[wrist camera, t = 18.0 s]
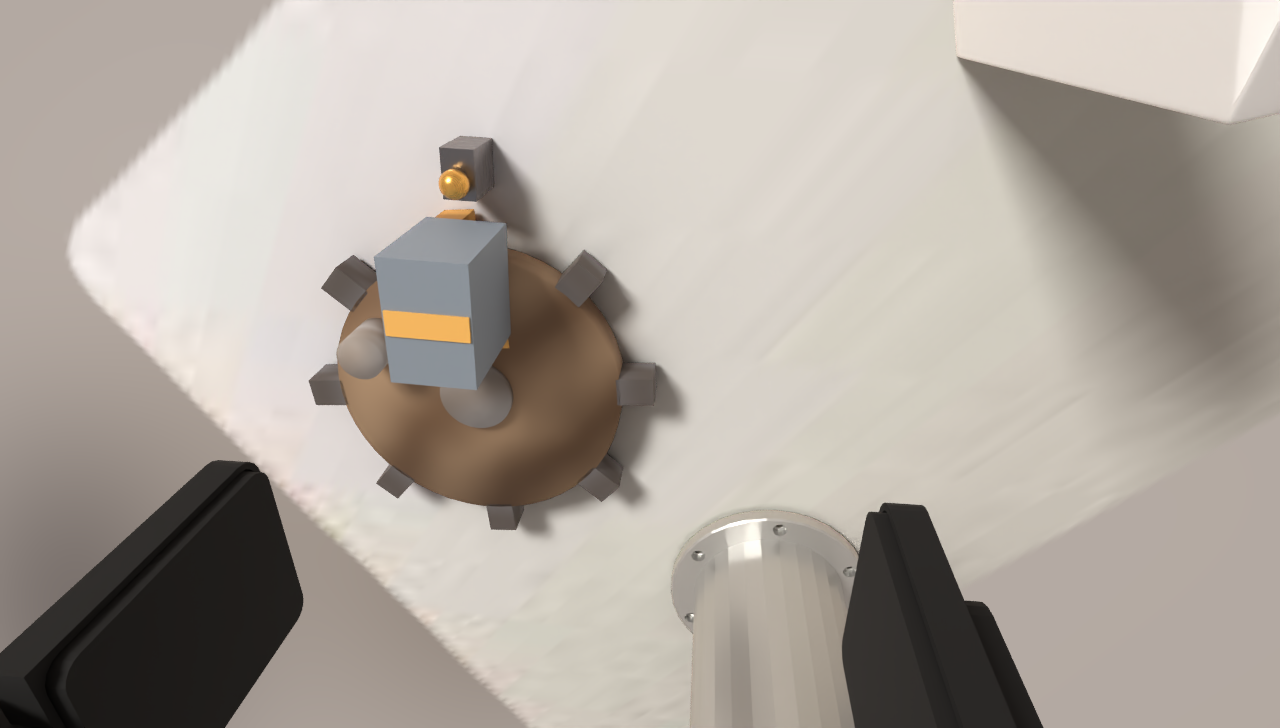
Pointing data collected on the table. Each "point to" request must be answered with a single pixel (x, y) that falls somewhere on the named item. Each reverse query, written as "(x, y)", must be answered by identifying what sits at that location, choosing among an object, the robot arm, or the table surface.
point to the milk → (1137, 49)
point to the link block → (445, 301)
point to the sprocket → (494, 394)
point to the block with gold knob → (466, 168)
